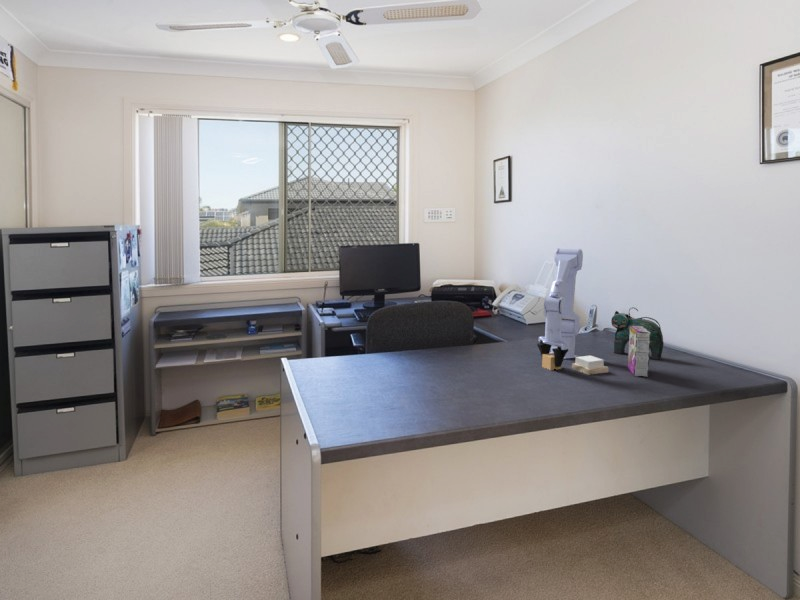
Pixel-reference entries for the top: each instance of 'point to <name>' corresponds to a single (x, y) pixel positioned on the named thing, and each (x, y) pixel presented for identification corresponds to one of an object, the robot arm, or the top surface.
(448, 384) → the top surface
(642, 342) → the candy bar box
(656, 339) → the ceramic cat
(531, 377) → the top surface
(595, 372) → the maple base slab
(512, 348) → the top surface
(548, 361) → the tan cube
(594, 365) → the off-white slab
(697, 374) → the top surface
